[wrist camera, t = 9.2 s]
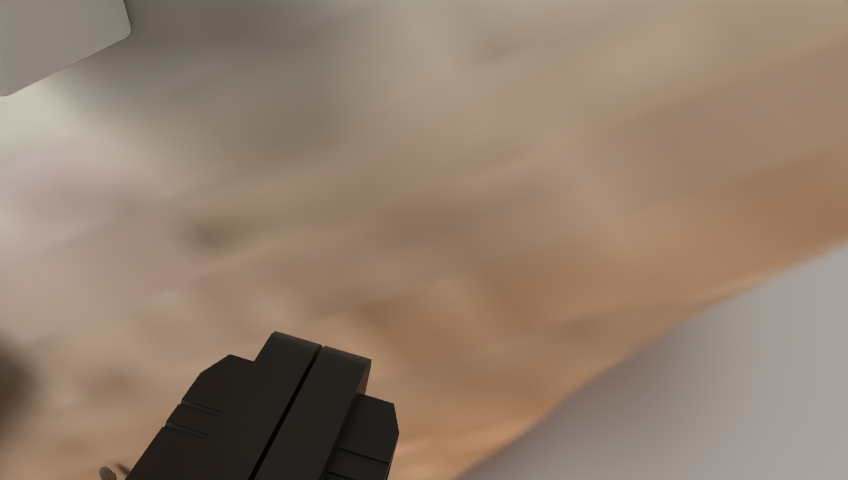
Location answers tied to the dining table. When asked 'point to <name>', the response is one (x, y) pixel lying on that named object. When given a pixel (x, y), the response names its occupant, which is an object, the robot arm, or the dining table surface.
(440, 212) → the dining table surface
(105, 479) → the lion figurine
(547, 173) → the dining table surface
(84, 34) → the medicine bottle
